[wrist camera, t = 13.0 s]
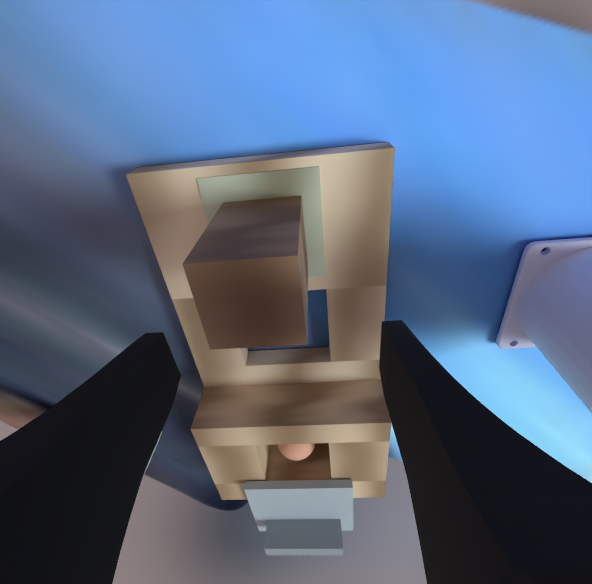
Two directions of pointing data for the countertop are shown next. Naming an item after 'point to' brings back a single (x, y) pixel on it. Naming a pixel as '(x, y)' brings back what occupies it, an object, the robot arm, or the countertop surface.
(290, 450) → the ball
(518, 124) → the countertop surface
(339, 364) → the puzzle board
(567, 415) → the countertop surface
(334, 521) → the lid
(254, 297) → the walnut block
